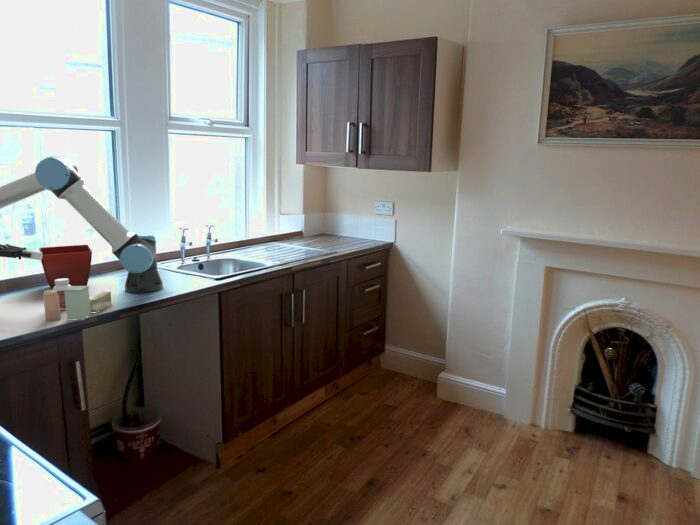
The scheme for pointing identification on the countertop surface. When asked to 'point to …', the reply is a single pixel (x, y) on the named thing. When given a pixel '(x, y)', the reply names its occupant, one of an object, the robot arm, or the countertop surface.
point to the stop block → (100, 301)
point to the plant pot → (67, 264)
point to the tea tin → (77, 302)
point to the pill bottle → (61, 291)
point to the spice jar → (51, 305)
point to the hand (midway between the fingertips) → (41, 256)
